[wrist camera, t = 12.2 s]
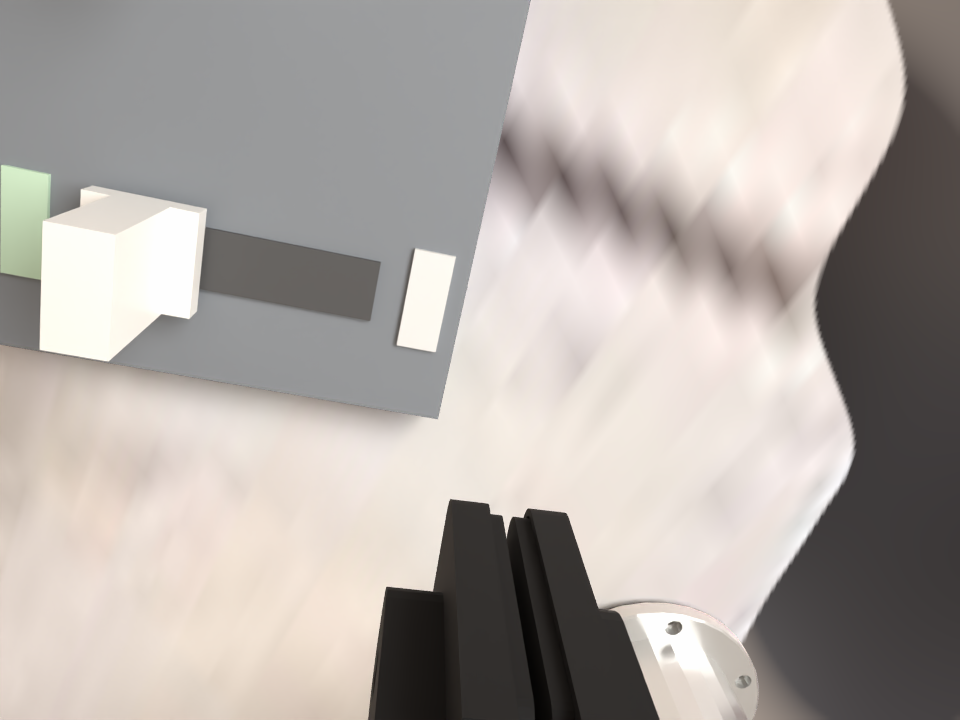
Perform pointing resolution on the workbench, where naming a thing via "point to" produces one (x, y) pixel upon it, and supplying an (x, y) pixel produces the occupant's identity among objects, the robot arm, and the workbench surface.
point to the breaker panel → (269, 174)
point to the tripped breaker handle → (117, 270)
